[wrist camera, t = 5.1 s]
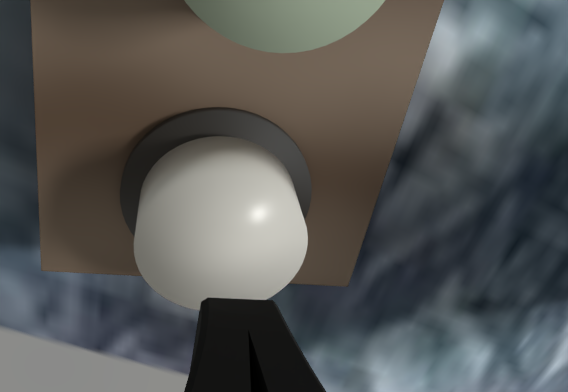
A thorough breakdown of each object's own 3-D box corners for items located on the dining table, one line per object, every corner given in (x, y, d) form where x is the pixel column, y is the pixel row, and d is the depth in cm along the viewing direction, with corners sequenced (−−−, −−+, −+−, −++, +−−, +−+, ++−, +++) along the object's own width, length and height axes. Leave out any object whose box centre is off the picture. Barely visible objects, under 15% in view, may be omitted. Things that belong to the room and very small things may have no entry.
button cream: (279, 269, 16) (289, 314, 14) (135, 261, 15) (129, 308, 13) (309, 145, 14) (325, 182, 12) (144, 127, 13) (139, 165, 11)
